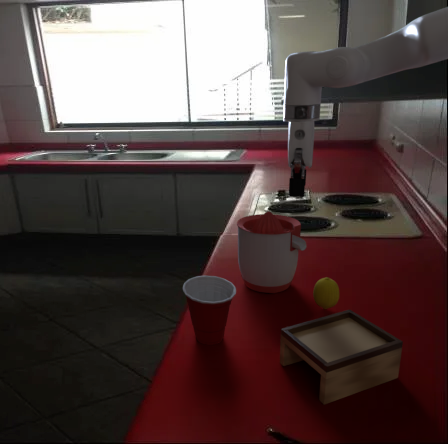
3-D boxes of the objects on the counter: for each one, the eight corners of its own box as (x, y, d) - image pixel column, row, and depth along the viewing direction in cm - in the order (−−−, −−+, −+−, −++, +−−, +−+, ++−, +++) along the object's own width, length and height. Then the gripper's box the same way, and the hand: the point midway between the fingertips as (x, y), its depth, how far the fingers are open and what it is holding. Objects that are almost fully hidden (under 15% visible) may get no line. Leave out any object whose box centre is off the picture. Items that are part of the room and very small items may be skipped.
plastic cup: (215, 360, 81) (215, 305, 77) (174, 340, 88) (171, 288, 84) (246, 335, 88) (246, 283, 84) (205, 318, 95) (204, 270, 92)
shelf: (346, 341, 84) (349, 309, 82) (398, 377, 73) (403, 341, 71) (279, 362, 79) (280, 328, 77) (324, 404, 68) (326, 366, 66)
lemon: (316, 301, 100) (318, 270, 97) (340, 306, 97) (343, 275, 94) (309, 311, 96) (311, 279, 93) (334, 317, 93) (337, 285, 90)
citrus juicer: (291, 306, 98) (294, 225, 92) (225, 288, 109) (225, 215, 103) (313, 280, 110) (317, 208, 104) (252, 267, 120) (253, 200, 114)
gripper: (320, 116, 81) (314, 201, 86) (320, 110, 96) (315, 182, 101) (280, 117, 83) (277, 200, 89) (286, 111, 99) (283, 182, 104)
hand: (297, 190), depth 95 cm, fingers open, 9 cm apart
